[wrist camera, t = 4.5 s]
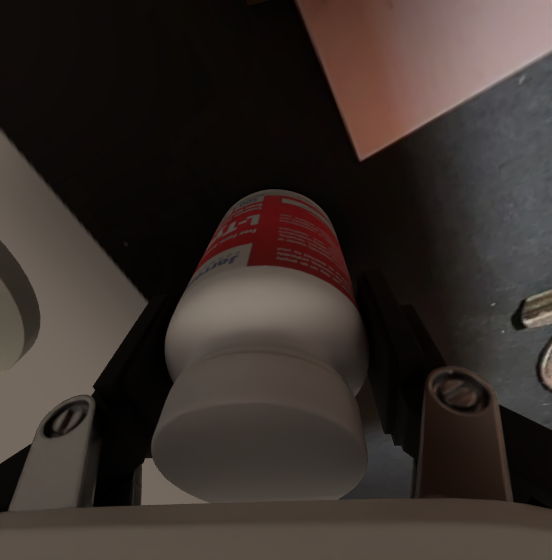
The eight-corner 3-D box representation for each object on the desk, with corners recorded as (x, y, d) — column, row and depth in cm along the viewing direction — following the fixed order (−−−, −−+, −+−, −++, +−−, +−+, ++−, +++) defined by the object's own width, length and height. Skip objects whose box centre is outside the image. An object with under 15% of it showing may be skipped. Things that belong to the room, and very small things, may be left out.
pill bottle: (256, 159, 13) (184, 310, 4) (359, 229, 15) (477, 452, 6) (198, 259, 16) (78, 483, 7) (290, 309, 18) (293, 545, 9)
